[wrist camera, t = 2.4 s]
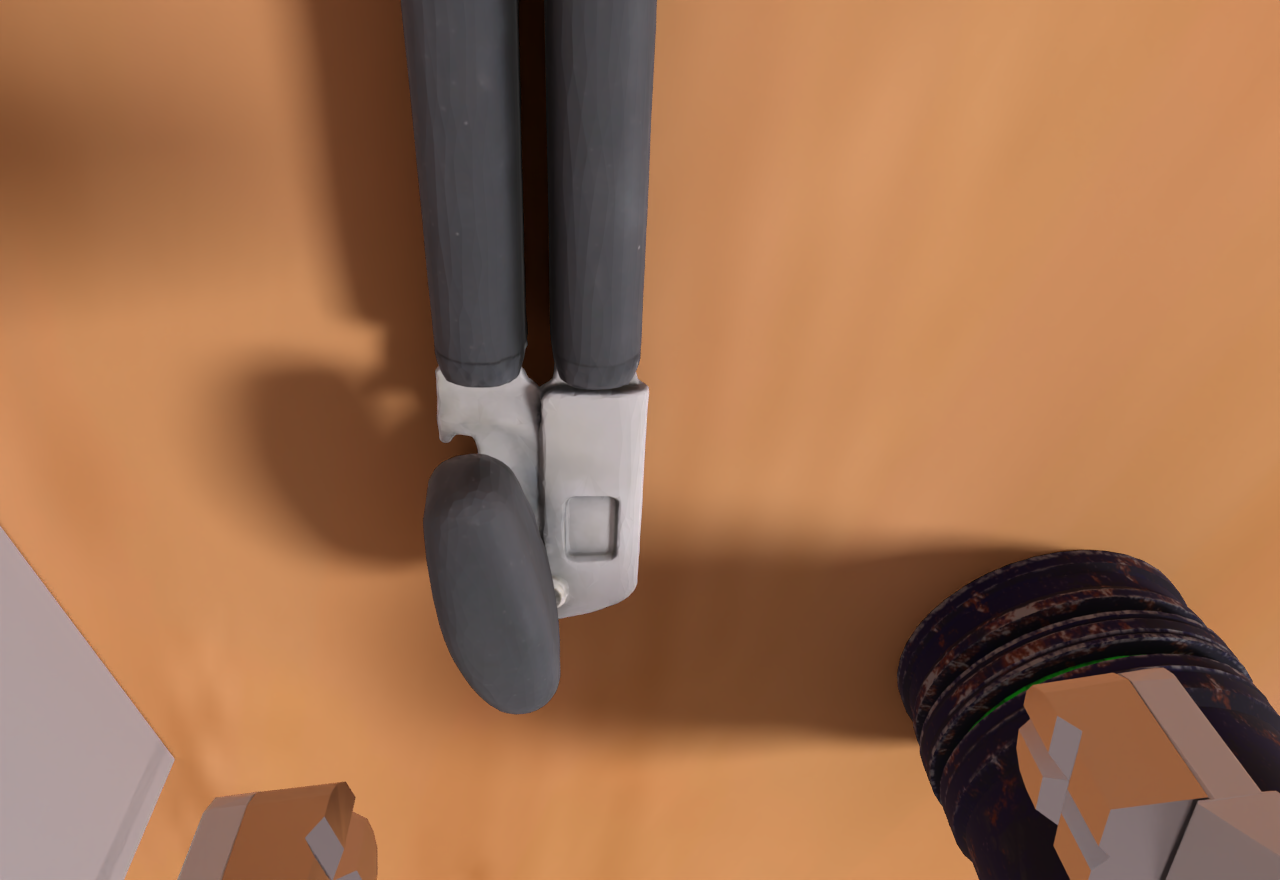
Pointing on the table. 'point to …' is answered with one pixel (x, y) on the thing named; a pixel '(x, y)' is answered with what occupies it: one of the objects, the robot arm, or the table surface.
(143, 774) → the duct
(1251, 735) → the dark blue barrel
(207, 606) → the table surface
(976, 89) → the table surface
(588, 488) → the can opener
